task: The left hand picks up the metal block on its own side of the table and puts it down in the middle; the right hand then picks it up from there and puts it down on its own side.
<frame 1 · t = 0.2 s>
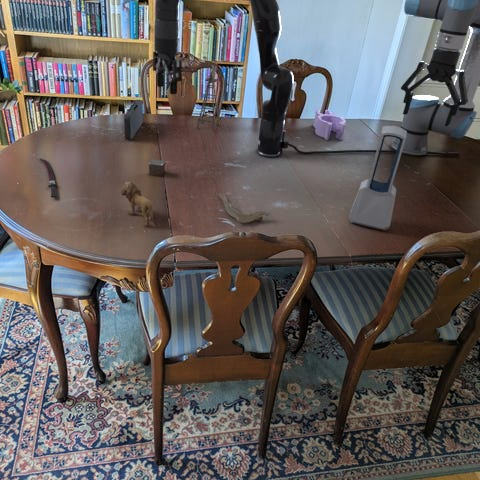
left hand: (166, 90, 148), 28 cm above the table, tool pointing down, fingers open, 8 cm apart
right hand: (425, 119, 149), 28 cm above the table, tool pointing down, fingers open, 13 cm apart
lion figurine: (139, 216, 136), on the table
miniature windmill: (208, 127, 205), on the table
clip: (326, 132, 214), on the table
electronic device: (368, 223, 145), on the table
block: (157, 173, 161), on the table
sword: (47, 177, 151), on the table
handheld gaming console: (134, 131, 193), on the table
jawbone: (242, 209, 146), on the table
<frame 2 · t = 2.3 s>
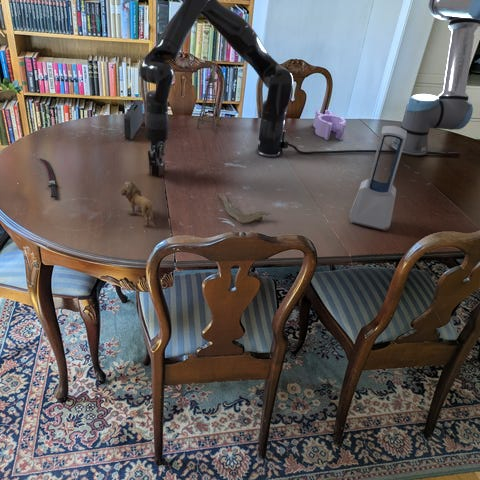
left hand: (157, 172, 161), 0 cm above the table, tool pointing down, fingers closed on block, 4 cm apart
block: (157, 173, 161), on the table, touching left hand
everything else where it was.
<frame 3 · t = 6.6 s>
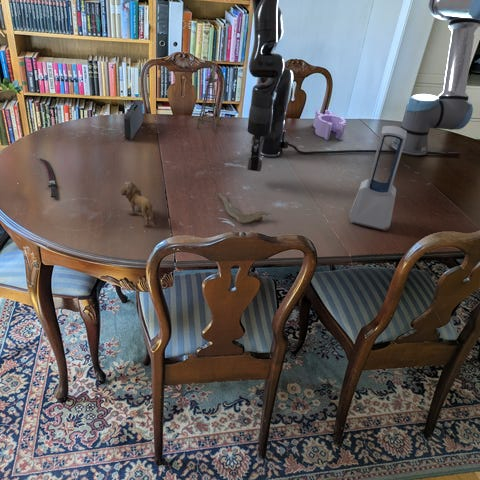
left hand: (254, 167, 159), 6 cm above the table, tool pointing down, fingers closed on block, 4 cm apart
block: (254, 168, 160), point 5 cm above the table, touching left hand
everything else where it was.
when the left hand's fingers open (1 cm above the table, at t = 11.2 s): block stays where it is, on the table.
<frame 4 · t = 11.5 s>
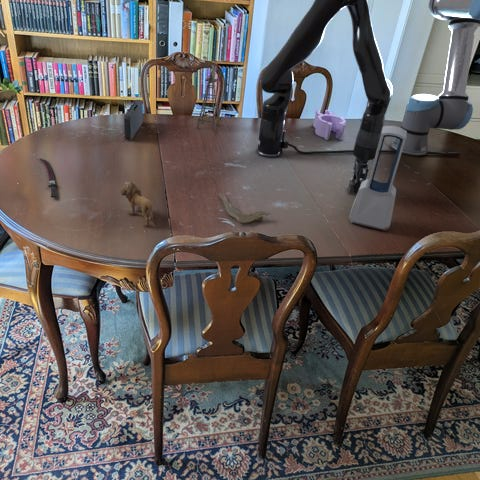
left hand: (355, 188, 162), 2 cm above the table, tool pointing down, fingers open, 6 cm apart
block: (354, 192, 163), on the table
everything else where it was.
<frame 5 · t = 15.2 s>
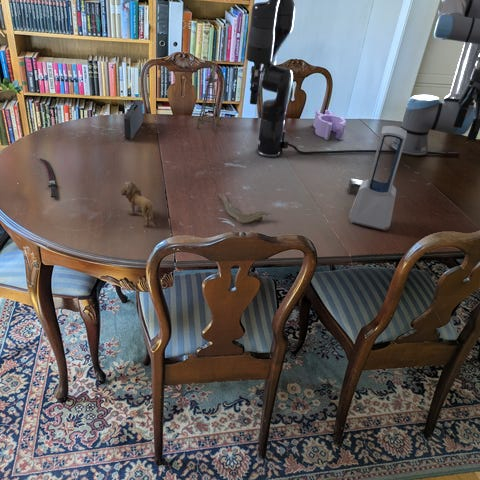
left hand: (254, 100, 143), 30 cm above the table, tool pointing down, fingers open, 8 cm apart
right hand: (463, 133, 161), 21 cm above the table, tool pointing down, fingers open, 13 cm apart
nothing on the table moved.
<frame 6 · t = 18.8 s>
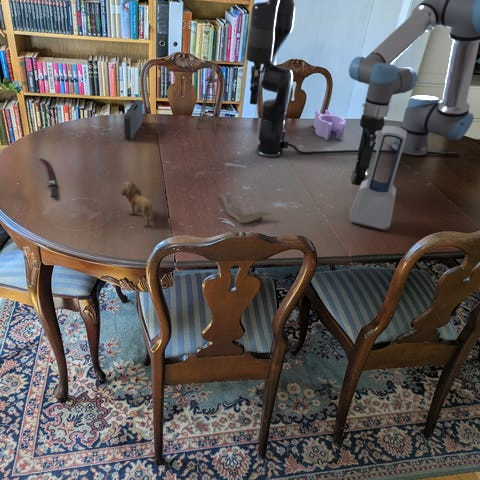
left hand: (254, 100, 143), 30 cm above the table, tool pointing down, fingers open, 8 cm apart
right hand: (357, 181, 161), 4 cm above the table, tool pointing down, fingers closed on block, 4 cm apart
block: (357, 182, 161), point 4 cm above the table, touching right hand
everything else where it was.
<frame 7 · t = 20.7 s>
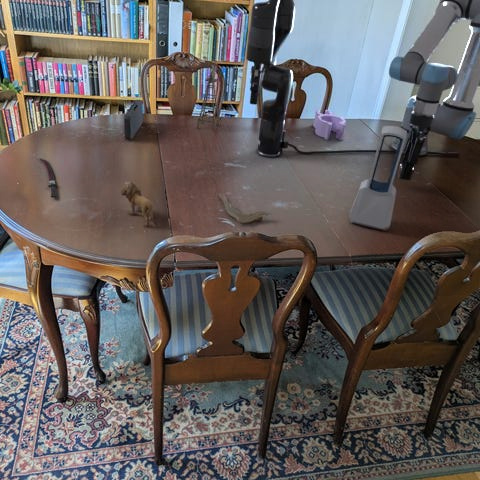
left hand: (254, 100, 143), 30 cm above the table, tool pointing down, fingers open, 8 cm apart
right hand: (403, 176, 168), 4 cm above the table, tool pointing down, fingers closed on block, 4 cm apart
block: (403, 177, 168), point 4 cm above the table, touching right hand
everything else where it was.
when the right hand's fingers open (0 cm above the table, at t = 22.8 s): block stays where it is, on the table.
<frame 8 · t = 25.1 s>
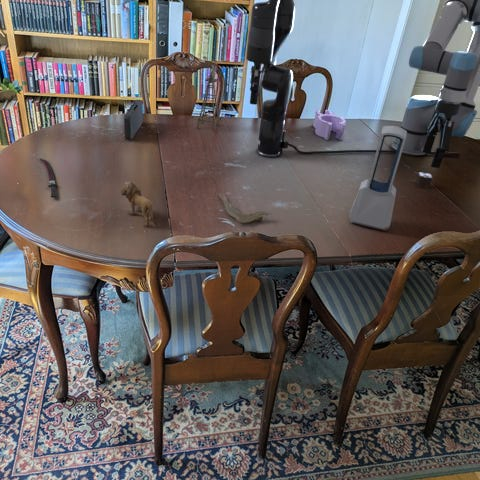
left hand: (254, 100, 143), 30 cm above the table, tool pointing down, fingers open, 8 cm apart
right hand: (430, 159, 168), 10 cm above the table, tool pointing down, fingers open, 13 cm apart
block: (422, 185, 174), on the table
everything else where it was.
at the end: block inside the target area (0.1 cm from its centre), on the table; block tilted 0°; the two hands never held the block at the same time; the left hand is holding nothing; the right hand is holding nothing; block at rest at the end (0.0 cm/s) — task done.
